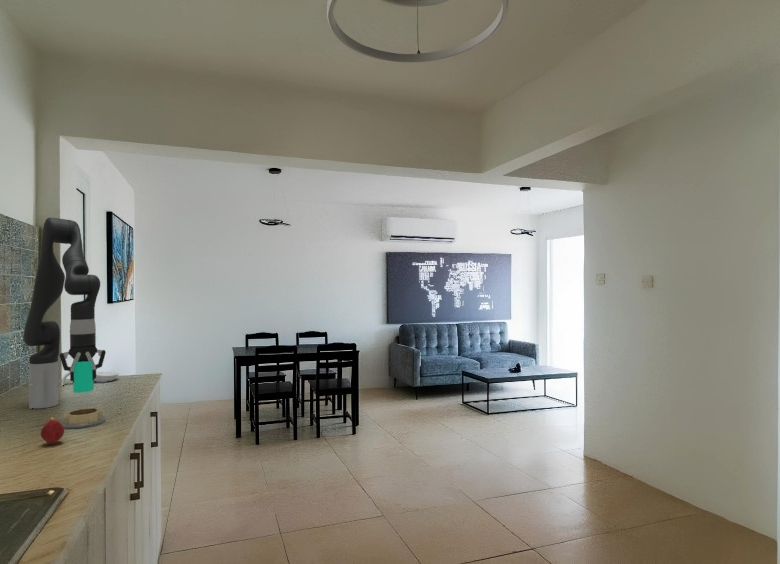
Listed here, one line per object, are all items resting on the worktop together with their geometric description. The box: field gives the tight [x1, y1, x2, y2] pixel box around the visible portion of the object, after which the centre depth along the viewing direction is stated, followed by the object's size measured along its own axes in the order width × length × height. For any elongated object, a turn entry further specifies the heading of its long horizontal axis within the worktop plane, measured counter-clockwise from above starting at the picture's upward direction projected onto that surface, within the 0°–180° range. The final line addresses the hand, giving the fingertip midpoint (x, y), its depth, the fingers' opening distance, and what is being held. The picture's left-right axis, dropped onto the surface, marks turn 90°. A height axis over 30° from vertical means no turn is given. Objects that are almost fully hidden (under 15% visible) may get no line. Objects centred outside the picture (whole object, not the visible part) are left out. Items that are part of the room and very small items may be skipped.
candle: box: [72, 361, 95, 394], centre depth 169 cm, size 6×6×12 cm
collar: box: [63, 407, 103, 425], centre depth 169 cm, size 11×11×3 cm
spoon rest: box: [60, 371, 119, 387], centre depth 236 cm, size 24×12×7 cm, turn 125°
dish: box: [60, 415, 106, 430], centre depth 169 cm, size 13×13×1 cm
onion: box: [40, 416, 65, 445], centre depth 148 cm, size 6×6×8 cm
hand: (83, 380), depth 169 cm, fingers closed on candle, 5 cm apart
